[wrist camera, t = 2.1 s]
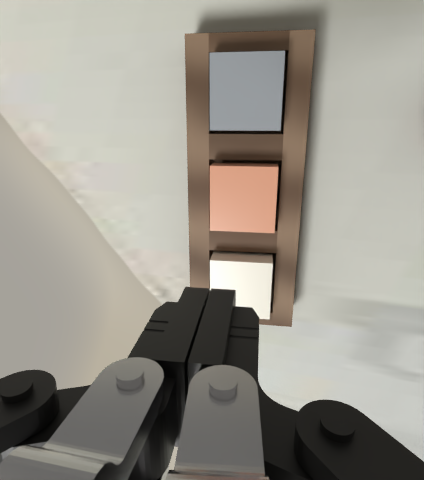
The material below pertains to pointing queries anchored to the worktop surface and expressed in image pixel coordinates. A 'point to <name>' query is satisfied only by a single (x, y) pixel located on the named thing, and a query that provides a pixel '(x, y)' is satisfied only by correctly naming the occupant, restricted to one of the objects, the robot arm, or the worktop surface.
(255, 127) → the slate key
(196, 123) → the key console
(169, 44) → the worktop surface
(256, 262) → the cream key
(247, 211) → the terracotta key
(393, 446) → the robot arm
